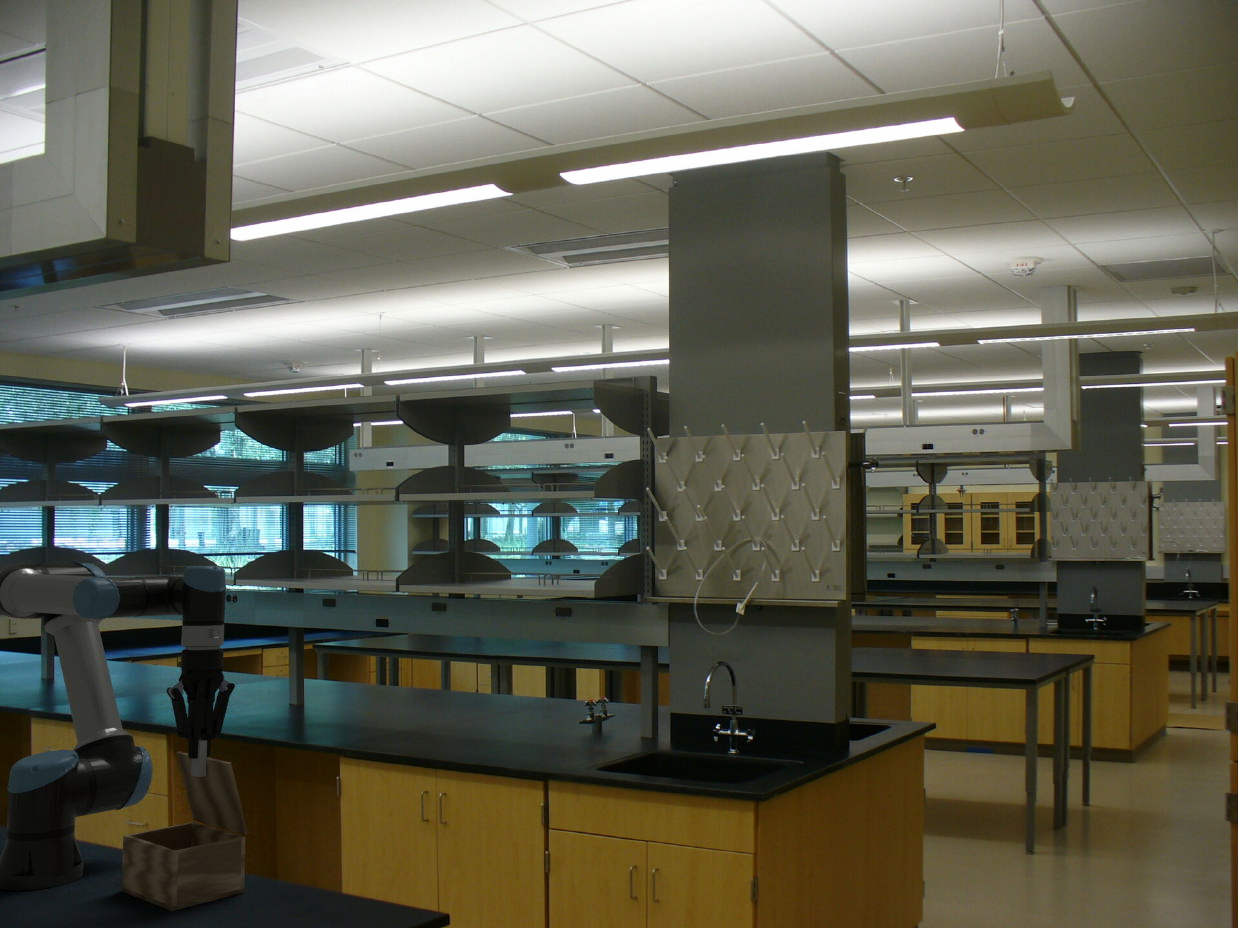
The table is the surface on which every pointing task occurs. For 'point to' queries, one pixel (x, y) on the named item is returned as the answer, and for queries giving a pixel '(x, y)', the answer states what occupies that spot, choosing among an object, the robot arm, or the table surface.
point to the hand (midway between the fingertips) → (198, 775)
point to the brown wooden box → (183, 865)
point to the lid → (213, 794)
